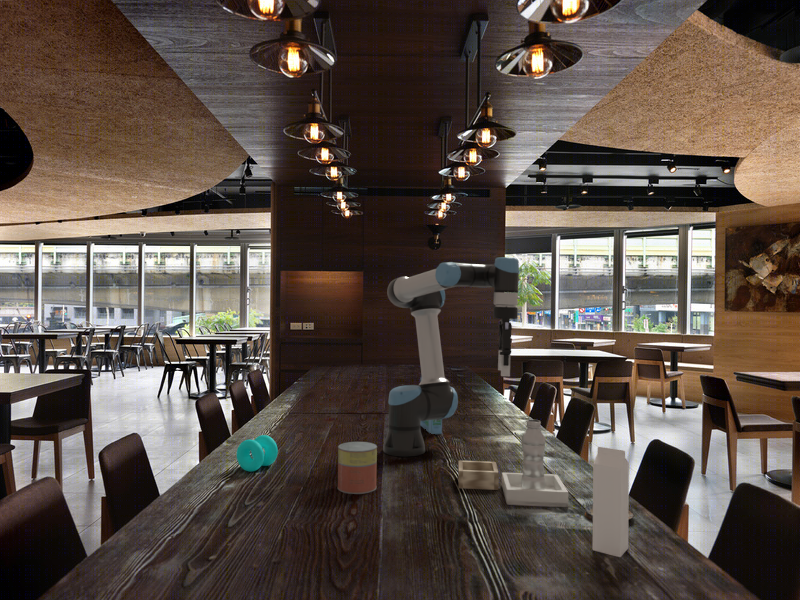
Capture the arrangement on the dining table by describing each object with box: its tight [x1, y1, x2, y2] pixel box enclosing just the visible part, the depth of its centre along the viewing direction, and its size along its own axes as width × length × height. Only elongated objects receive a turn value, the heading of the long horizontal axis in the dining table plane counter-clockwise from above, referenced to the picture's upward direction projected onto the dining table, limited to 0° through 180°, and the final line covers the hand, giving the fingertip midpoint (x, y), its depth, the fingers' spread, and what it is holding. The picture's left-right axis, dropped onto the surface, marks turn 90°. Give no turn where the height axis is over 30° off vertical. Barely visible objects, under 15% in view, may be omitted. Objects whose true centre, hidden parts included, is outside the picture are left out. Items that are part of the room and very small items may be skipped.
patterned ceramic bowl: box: [584, 504, 635, 522], centre depth 145 cm, size 12×12×8 cm
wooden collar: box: [457, 460, 499, 491], centre depth 172 cm, size 11×11×5 cm
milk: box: [592, 446, 630, 558], centre depth 126 cm, size 6×6×22 cm
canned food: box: [337, 441, 378, 495], centre depth 166 cm, size 11×11×12 cm
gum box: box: [419, 373, 443, 435], centre depth 246 cm, size 20×5×23 cm, turn 13°
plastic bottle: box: [521, 419, 546, 490], centre depth 161 cm, size 6×7×20 cm
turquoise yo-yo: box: [236, 434, 279, 473], centre depth 184 cm, size 10×10×10 cm
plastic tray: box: [501, 472, 569, 508], centre depth 161 cm, size 16×16×4 cm
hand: (503, 373), depth 182 cm, fingers open, 13 cm apart
